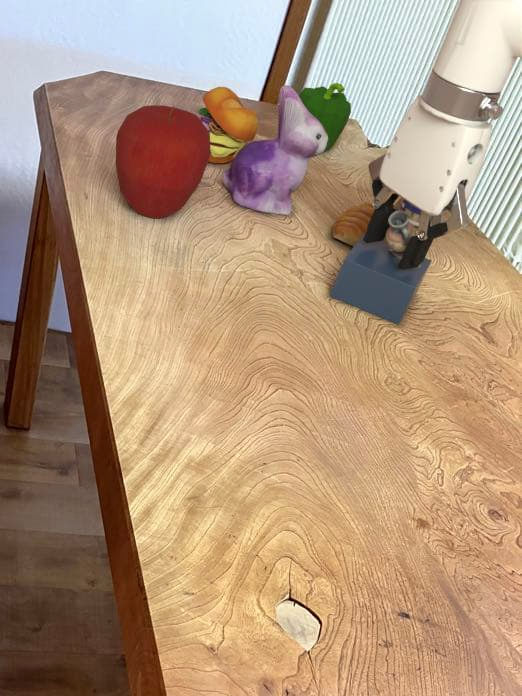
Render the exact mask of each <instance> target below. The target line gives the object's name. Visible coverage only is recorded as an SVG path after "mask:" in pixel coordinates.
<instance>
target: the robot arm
mask: <svg viewBox="0 0 522 696" xmlns="http://www.w3.org/2000/svg"><path fill="white" fill-rule="evenodd" d="M518 58H520V59H522V0H459V2H458V5H457V7H456V10H455V12H454V14H453V17H452V19H451V22H450V25H449V27H448V30H447V32H446V35H445V37H444V40H443V42H442V44H441V47H440V50H439V51H438V54H437V56H436V58H435V62H434V64H433V67H432V68H431V71H430V73H429V76H428V78H427V80H426V84H425V85H424V88H423V91H422V93H421V94H419V95H417V96H416V97H415V99H414V100H413V102H412V103H411V105H410V106H409V108H408V109H407V111H406V112H405V114H404V115H403V118H402V120H401V121H400V124H399V126H398V127H397V129H396V131H395V133H394V135H393V137H392V139H391V142H390V143H389V145H388V148H387V150H386V152H385V153H384V154H382V155H381V156H379V157H377V158H376V159H374V160H373V161H371V162H370V163H369V164H368V172H369V177H370V180H371V181H372V183H371V189H372V190H371V191H372V192H373V193H372V195H373V198H374V199H373V200H372V203H371V204H372V205H373V208H375V210H374V212H373V215H372V217H371V220H370V222H369V224H368V227H367V231H366V234H365V236H364V239H363V241H365V242H366V243H372V242H378V241H383V240H384V241H385V240H386V239H385V237H386V232H387V230H388V228H389V227H390V224H389V222H388V219H389V217H390V215H391V214H392V213H394V212H395V211H397V209H396V208H395V207H394V206H395V205H396V204H397V203H398V202H399V200H400V199H401V198H402V200H403V199H405V200H406V201H408V202H409V203H411V204H412V205H414V206H415V207H417V208H418V209H420V210H421V215H420V221H419V227H418V228H417V229H418V230H417V233H416V236H412V237H411V239H410V241H409V243H408V245H407V247H406V250H405V252H404V254H403V256H402V259H401V261H400V263H399V267H400V268H401V269H403V270H404V269H410V268H415V267H418V266H419V265H420V264H421V263H422V262H423V261H424V259H425V258H426V257H427V255H428V253H429V250H430V248H431V246H432V244H433V241H434V240H435V239H439V238H440V237H443V236H445V235H448V234H451V233H452V232H457V231H460V230H463V229H466V228H468V226H469V224H470V221H469V214H468V207H467V206H468V205H467V202H468V200H469V198H470V196H471V194H472V192H473V189H474V186H475V184H476V181H477V179H478V177H479V174H480V171H481V169H482V166H483V163H484V161H485V157H486V154H487V151H488V147H489V144H490V141H491V140H490V139H491V135H492V131H493V127H494V126H493V124H491V123H490V122H488V121H489V120H494V121H496V120H498V119H499V118H500V117H501V115H502V114H503V111H504V108H503V107H502V105H500V104H499V103H498V102H499V100H500V98H501V96H502V94H501V93H502V91H503V89H504V87H505V85H506V82H507V81H508V78H509V76H510V74H511V72H512V70H513V68H514V66H515V63H516V62H517V59H518ZM446 211H447V212H449V213H450V218H449V219H448V220H446V221H445V216H446ZM432 217H433V218H432ZM431 220H432V224H431ZM430 226H431V227H430Z"/></svg>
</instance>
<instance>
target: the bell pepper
mask: <svg viewBox="0 0 522 696" xmlns="http://www.w3.org/2000/svg"><path fill="white" fill-rule="evenodd" d="M335 90H337V92H335ZM344 91H345V87H344V85H343V84H341V83H339V82H334V83H331V84H330V85H329V87H328V88H327V87H326V86H323V85H322V86H317V87H304V88H303V89H302V90H301V92H300V93H299V94H298V96H299V97H300V99H301V101H302V103H303V104H304V106H305V107H306V109H307V110H308V111H309V113H310V114H311V115H313V116H314V117H315V118H316V119H317V120H318V121H319V122H320V123H321V124H322V126H323V128H324V130H325V132H326V133H327V135H328V142H327V146H326V148H325V150H324V152H326V151H329V150H331V148H332V147H334V145H335V144H336V142H337V141H338V140H339V138H340V137H341V134H342V133H343V131H344V129H345V128H346V126H347V124H348V121H349V119H350V116H351V113H352V104H351V102H349V101H348V99H347V97H346V94H345V93H344Z"/></svg>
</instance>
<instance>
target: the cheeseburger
mask: <svg viewBox="0 0 522 696" xmlns="http://www.w3.org/2000/svg"><path fill="white" fill-rule="evenodd" d="M202 101H203V104H204V106H205V107H201V108H200V109H198V111H197V110H196V111H192V112H191V113H193V114H195V115H197V116H198V118H199V119H200V120H201V121H202V123H203V124H204V125H205V127H206V128H207V130H208V131H209V132H210V150H211V151H210V158H209V161H208V163H212V164H225V163H231V162H232V161H233V159H234V157H235V156H236V154H237V153H238V152H239V150H240V149H241V148H242V147H244V146H245V145H247V144H248V142H252V141H254V139H255V137H256V135H257V133H258V129H259V120H258V116H257V112H255V111H254V110H253V109H251V108H247V107H245V106H244V105H243V103H242V101H241V100H240V98H239V96H238V95H237V93H235V92H234V91H233V90H232V89H230V88H229V87H226V86H217V87H214V88H211V89H209V91H207V92H206V93H205V94H204V95H203V96H202Z"/></svg>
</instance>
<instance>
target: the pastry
mask: <svg viewBox="0 0 522 696" xmlns="http://www.w3.org/2000/svg"><path fill="white" fill-rule="evenodd" d="M374 210H375V208H373V205H372V203H370V202H368V201H366V202H365V203H361V204H359V205H357V206H352V207H348V209H347V210H345V211H344V212H342V213H341V214H340V215H339V216H338V217H337V219H336V221H335V224H334V225H333V228H332V231H331V233H332V238H334V239H337V240H339V241H341V242H343V243H345V244H347V245H349V246H352V247H354V246H355V245H356V243H357V242H358V241H359V239H360V238H361V237H362V236H363V234H366V231H367V227H368V224H369V222H370V220H371V217H372V215H373V212H374ZM385 240H386V237H385V239H384V240H383V241H384V242H385Z"/></svg>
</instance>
